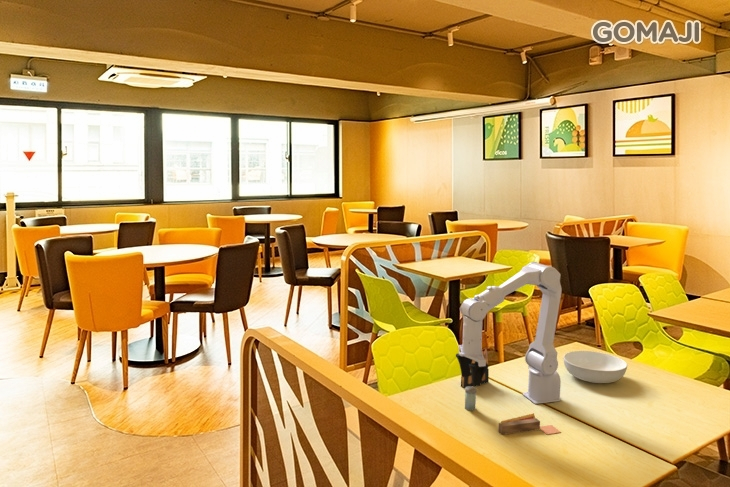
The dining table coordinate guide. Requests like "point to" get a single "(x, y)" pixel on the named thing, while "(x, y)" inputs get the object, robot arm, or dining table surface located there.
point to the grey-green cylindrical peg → (470, 398)
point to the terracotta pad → (549, 429)
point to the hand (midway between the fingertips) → (470, 380)
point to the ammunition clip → (468, 380)
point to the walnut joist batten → (519, 426)
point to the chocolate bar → (520, 418)
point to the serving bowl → (594, 366)
